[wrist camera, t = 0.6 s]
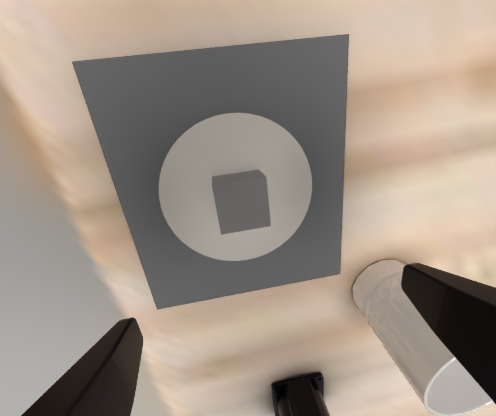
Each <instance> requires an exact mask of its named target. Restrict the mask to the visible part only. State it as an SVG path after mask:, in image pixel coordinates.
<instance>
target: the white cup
mask: <svg viewBox="0 0 496 416" xmlns="http://www.w3.org/2000/svg"><path fill="white" fill-rule="evenodd" d="M405 265H406V264H404V263H402V262H400V261H398V260H395V259H393V260H381V261H379V262H377V263H374V264H372V265H370V266H368V267H367V268H366V269H365V270H364V271H363V272H362V273H361V274H360V275H359V276H358V277H357V279H356V281H355V283H354V285H353V288H352V291H353V300H354V302H355V303H356V304H357V306H358V307H359V309H360V310H361V311H362V313H363V314H364V316H365V318H366V319H367V321H368V324H369V325H370V327H371V328H372V329H373V331H374V333H375V334H376V336H377V337H378V339H379V340H380V341H381V343H382V344H383V346H384V348H385V349H386V351H387V353H388V354H389V355H390V357H391V358H392V359H393V361H394V362H395V364H396V365H397V367H398V368H399V369H400V371H401V372H402V374H403V375H404V377H405V378H406V380H407V381H408V382H409V384H410V385H411V387H412V388H413V390H414V391H415V393H416V394H417V395H418V397H419V398H420V400H421V401H422V403H423V404H424V406H425V407H426V408H427V410H428V411H429V412H431V413H432V414H435V415H437V416H460V415H464V414H468V413H471V412H474V411H477V410H479V409H481V408H483V407H485V406H487V405H489V404H491V403H493V400H492V399H491V398H490V397H489V396H488V395H487V394H486V392H485V391H484V390H483V389H482V388H481V387H480V385H479V384H478V383H477V382H476V381H475V380H474V379H473V377H472V376H471V375H470V374H469V373H468V372H467V371H466V369H465V368H464V367H463V366H462V365H461V364H460V362H459V361H458V360H457V359H456V358H455V357H454V356H453V354H452V353H451V352H450V351H449V350H448V349H447V348H446V346H445V345H444V344H443V343H442V342H441V341H440V339H439V338H438V337H437V336H436V335H435V333H434V332H433V331H432V330H431V328H430V327H429V326H428V324H427V323H426V322H425V320H424V319H423V318H422V316H421V315H420V313H419V312H418V311H417V309H416V308H415V307H414V305H413V304H412V303H411V301H410V300H409V299H408V297H407V296H406V294H405V293H404V292H403V290H402V287H401V280H402V273H403V268H404V266H405Z"/></svg>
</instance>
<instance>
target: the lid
mask: <svg viewBox="0 0 496 416" xmlns="http://www.w3.org/2000/svg"><path fill="white" fill-rule="evenodd" d="M311 194H312V175H311V170H310V166H309V163H308V160H307V157H306V155H305V153H304V151H303V149H302V147H301V146H300V145H299V143H298V142H297V141H296V139H295V138H294V137H293V136H292V135H291V134H290V133H289V132H288V131H287V130H285V129H284V128H283V127H281V126H280V125H279V124H277V123H275V122H273V121H271V120H269V119H267V118H264V117H262V116H258V115H254V114H249V113H226V114H221V115H216V116H213V117H210V118H208V119H205V120H203V121H201V122H199V123H197V124H195V125H194V126H193V127H191V128H190V129H188V130H187V131H186V132H185V133H184V134H183V135H182V136H180V137H179V138H178V139H177V141H176V142H175V143H174V145H173V146H172V147H171V149H170V151H169V152H168V154H167V156H166V158H165V160H164V163H163V165H162V168H161V173H160V177H159V200H160V205H161V209H162V212H163V215H164V217H165V219H166V221H167V223H168V225H169V227H170V228H171V229H172V231H173V232H174V234H175V235H176V236H177V237H178V238H179V239H180V240H181V241H182V242H183V243H184V244H186V245H187V246H188V247H190V248H191V249H193V250H194V251H196V252H198V253H200V254H202V255H204V256H207V257H210V258H214V259H218V260H225V261H242V260H249V259H253V258H257V257H260V256H262V255H265V254H267V253H269V252H271V251H273V250H275V249H276V248H278V247H279V246H281V245H282V244H283V243H284V242H286V241H287V240H288V239H289V238H290V237H291V236H292V235H293V234H294V233H295V231H296V230H297V229H298V227H299V226H300V224H301V223H302V221H303V219H304V217H305V215H306V213H307V211H308V207H309V204H310V200H311Z"/></svg>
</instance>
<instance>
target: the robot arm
mask: <svg viewBox="0 0 496 416" xmlns="http://www.w3.org/2000/svg"><path fill="white" fill-rule="evenodd" d="M401 287H402V290H403V292H404V293H405V294H406V296H407V297H408V299H409V300H410V301H411V303H412V304H413V305H414V307H415V308H416V309H417V311H418V312H419V313H420V315H421V316H422V318H423V319H424V320H425V322H426V323H427V324H428V326H429V327H430V328H431V330H432V331H433V332H434V333H435V335H436V336H437V337H438V338H439V339H440V341H441V342H442V343H443V344H444V345H445V346H446V348H447V349H448V350H449V351H450V352H451V353H452V354H453V356H454V357H455V358H456V359H457V360H458V361H459V362H460V364H461V365H462V366H463V367H464V368H465V369H466V371H467V372H468V373H469V374H470V375H471V376H472V377H473V379H474V380H475V381H476V382H477V383H478V384H479V385H480V387H481V388H482V389H483V390H484V391H485V392H486V394H487V395H488V396H489V397H490V398H491V399H492V400H493V402H494V403H495V404H496V288H495V287H491V286H488V285H485V284H482V283H479V282H476V281H473V280H470V279H467V278H464V277H460V276H457V275H454V274H451V273H448V272H445V271H442V270H439V269H436V268H432V267H429V266H426V265H423V264H420V263H412V264H407V265H405V266H404V268H403V273H402V280H401ZM142 347H143V336H142V333H141V331H140V328H139V326H138V323H137V321H136V319H135V318H127V319H122V320H120V321H119V322H117V323H116V324H115V325H114V326H113V327H112V328H111V329H110V330H109V331H108V332H107V333H106V334H105V335H104V336H103V337H102V338H101V339H100V340H99V341H98V342H97V343H96V344H95V345H94V346H93V347H92V348H91V349H90V350H88V352H86V353H85V354H84V356H82V357H81V358H80V359H79V360H78V361H77V362H76V363H75V364H74V365H73V366H72V367H71V368H70V369H69V370H68V371H67V372H66V373H65V374H64V375H63V376H62V377H61V378H60V379H59V380H58V381H56V382H55V383H54V385H52V386H51V387H50V388H49V389H48V390H47V391H46V392H45V393H44V394H43V395H42V396H41V397H40V398H39V399H38V400H37V401H36V402H35V403H34V404H33V405H32V406H31V407H30V408H29V409H28V410H27V411H26V412H25V413H24V414H22V415H21V416H130V414H131V410H132V406H133V402H134V397H135V391H136V385H137V379H138V372H139V366H140V360H141V354H142ZM271 388H272V396H273V404H274V412H275V416H330V414H329V412H328V409H327V407H326V404H325V402H324V399H323V376H322V374H321V373H316V374H312V375H308V376H303V377H299V378H295V379H290V380H286V381H282V382H277V383H274V384H272V386H271Z"/></svg>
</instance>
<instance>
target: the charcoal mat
mask: <svg viewBox="0 0 496 416" xmlns="http://www.w3.org/2000/svg"><path fill="white" fill-rule="evenodd" d="M348 45H349V34H346V35H336V36H325V37H315V38H305V39H295V40H285V41H275V42H265V43H255V44H245V45H235V46H225V47H215V48H205V49H195V50H185V51H175V52H165V53H155V54H145V55H135V56H125V57H115V58H105V59H95V60H85V61H75V62H72V63H73V66H74V69H75V72H76V75H77V78H78V81H79V84H80V87H81V90H82V92H83V95H84V98H85V101H86V104H87V107H88V110H89V113H90V116H91V119H92V122H93V124H94V127H95V130H96V133H97V136H98V139H99V142H100V145H101V148H102V151H103V153H104V156H105V159H106V162H107V165H108V168H109V171H110V174H111V177H112V180H113V182H114V185H115V188H116V191H117V194H118V197H119V200H120V203H121V206H122V209H123V212H124V214H125V217H126V220H127V223H128V226H129V229H130V232H131V235H132V238H133V241H134V243H135V246H136V249H137V252H138V255H139V258H140V261H141V264H142V267H143V270H144V272H145V275H146V278H147V281H148V284H149V287H150V290H151V293H152V296H153V299H154V302H155V304H156V307H157V309H162V308H167V307H172V306H177V305H183V304H188V303H193V302H198V301H203V300H208V299H214V298H219V297H224V296H229V295H234V294H239V293H244V292H250V291H255V290H260V289H265V288H270V287H275V286H281V285H286V284H291V283H296V282H301V281H306V280H311V279H317V278H322V277H327V276H332V275H337V274H340V265H341V238H342V210H343V183H344V155H345V128H346V100H347V72H348ZM226 113H249V114H254V115H258V116H262V117H264V118H267V119H269V120H271V121H273V122H275V123H277V124H279V125H280V126H281V127H283V128H284V129H285V130H287V131H288V132H289V133H290V134H291V135H292V136H293V137H294V138H295V139H296V141H297V142H298V143H299V145H300V146H301V147H302V149H303V151H304V153H305V155H306V157H307V160H308V163H309V166H310V170H311V175H312V194H311V200H310V204H309V207H308V211H307V213H306V215H305V217H304V219H303V221H302V223H301V224H300V226H299V227H298V229H297V230H296V231H295V233H294V234H293V235H292V236H291V237H290V238H289V239H288V240H287V241H286V242H284V243H283V244H282V245H281V246H279V247H278V248H276V249H275V250H273V251H271V252H269V253H267V254H265V255H262V256H260V257H257V258H253V259H249V260H242V261H225V260H218V259H214V258H210V257H207V256H204V255H202V254H200V253H198V252H196V251H194V250H193V249H191V248H190V247H188V246H187V245H186V244H184V243H183V242H182V241H181V240H180V239H179V238H178V237H177V236H176V235H175V234H174V232H173V231H172V229H171V228H170V227H169V225H168V223H167V221H166V219H165V217H164V215H163V212H162V209H161V205H160V200H159V177H160V173H161V168H162V165H163V163H164V160H165V158H166V156H167V154H168V152H169V151H170V149H171V147H172V146H173V145H174V143H175V142H176V141H177V139H178V138H179V137H180V136H182V135H183V134H184V133H185V132H186V131H187V130H188V129H190V128H191V127H193V126H194V125H195V124H197V123H199V122H201V121H203V120H205V119H208V118H210V117H213V116H216V115H221V114H226Z"/></svg>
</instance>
